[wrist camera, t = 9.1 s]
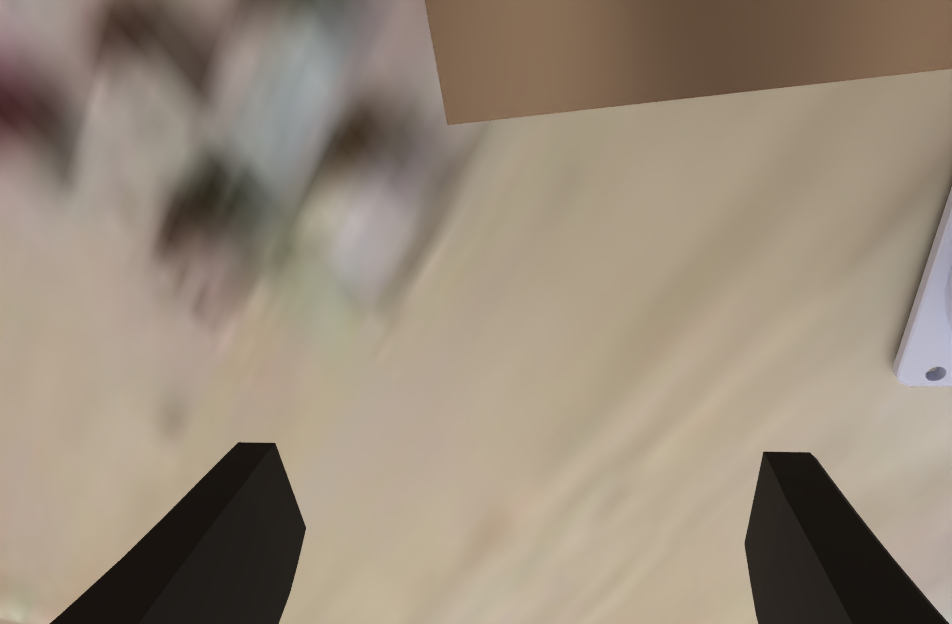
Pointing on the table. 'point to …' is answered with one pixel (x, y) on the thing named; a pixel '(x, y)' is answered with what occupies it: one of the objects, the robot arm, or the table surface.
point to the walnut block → (668, 49)
